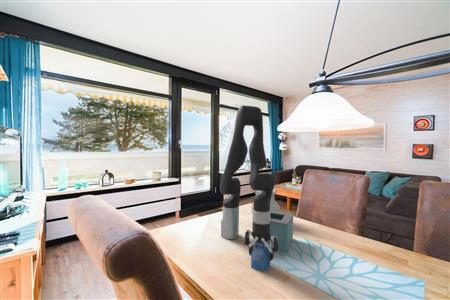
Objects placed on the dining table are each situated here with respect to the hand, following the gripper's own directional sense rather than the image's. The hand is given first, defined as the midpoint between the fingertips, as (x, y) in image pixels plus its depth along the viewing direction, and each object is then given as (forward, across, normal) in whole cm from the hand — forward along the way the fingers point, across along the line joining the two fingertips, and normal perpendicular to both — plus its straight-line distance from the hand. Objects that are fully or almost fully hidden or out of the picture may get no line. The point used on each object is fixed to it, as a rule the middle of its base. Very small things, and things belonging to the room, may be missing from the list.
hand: (260, 257), depth 89 cm
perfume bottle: (+4, 0, 0) cm, 4 cm away
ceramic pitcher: (+4, +14, -52) cm, 54 cm away
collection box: (+4, 0, -25) cm, 25 cm away
